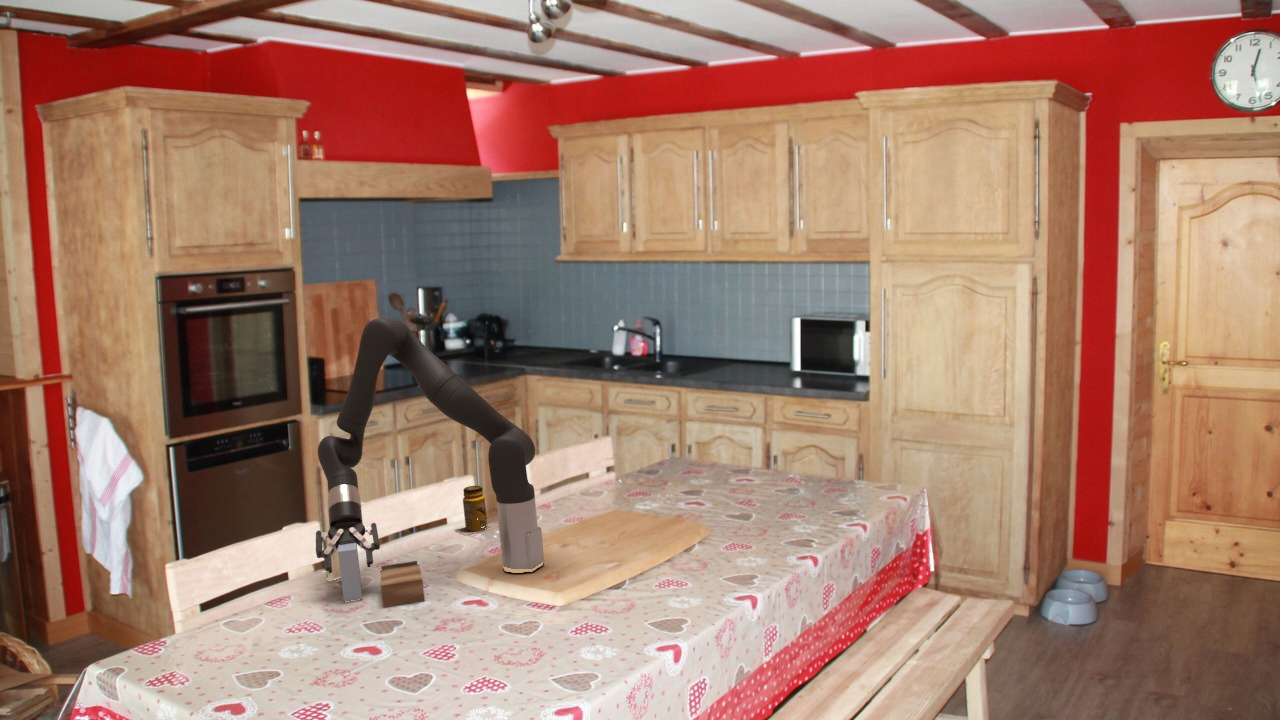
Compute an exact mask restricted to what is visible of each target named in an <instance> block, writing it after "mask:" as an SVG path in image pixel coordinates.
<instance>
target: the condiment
mask: <svg viewBox="0 0 1280 720" xmlns="http://www.w3.org/2000/svg"><path fill="white" fill-rule="evenodd" d="M462 491H463V498H462V504H463V513H464V524H465V527H461V528H456V529H454V531H456V532H458V533H459V534H462V535H463V536H468V535H472V534H475V533H481V532H485V531H490V530H493V529H494V528H492V527H491V528H487V527H489V526H488V518H487V509H486V497H485V495H484V491H483V486H481V485H471V486H470V485H469V486H466V487H464V488H463V490H462ZM477 518H478V520H477ZM486 525H487V526H486ZM483 526H485V527H484V528H481V527H483ZM485 528H486V529H485Z"/></svg>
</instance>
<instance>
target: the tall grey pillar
mask: <svg viewBox="0 0 1280 720" xmlns="http://www.w3.org/2000/svg"><path fill="white" fill-rule="evenodd" d="M337 552H338V553H337V554H338V563H339V570H340V579H341V589H342V597H343V602H344V601H351V600H358V599H362V600H363V587H362V580H361V579H362V578H361V569H360V562H359V561H360V560H359V552H358V545H357V543H356V542H355V543H347V544H342V545H339V547H338V549H337Z"/></svg>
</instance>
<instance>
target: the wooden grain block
mask: <svg viewBox="0 0 1280 720" xmlns="http://www.w3.org/2000/svg"><path fill="white" fill-rule="evenodd" d="M380 567H381V569H380V570H379V574H380V575H379V576H380V588H381V596H382V604H383V605H382V606H383V608H390V607H395V606H401V605H407V604H412V603H419V602H425V592H424V583H423V576H422V571H421V568H420V564H419V563H418V560H413V561H405V562H400V563H399V562H398V563H393V564H386V565H381V566H380Z"/></svg>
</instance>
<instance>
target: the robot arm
mask: <svg viewBox="0 0 1280 720" xmlns="http://www.w3.org/2000/svg"><path fill="white" fill-rule="evenodd" d="M388 356H390V357H392V358H394V359H395V360H396V361H397V362H398V363H400V364H401V365H402V366H403V367H404V368H406V370H408V371H409V372H410V373H411V375H412V376H413V379H415V381H416V383H417V385H418V387H419V389H420V390H421V392H422V393H423V395H424V396H425V398H426V399H427V400H428V401H429V402H430V403H431V404H432V405H433V406H434V407H435V408H437V409H438V410H439V411H440V412H441V413H442V414H443V415H445V416H446V417H447V418H449V419H451V420H453V421H454V422H456V423H458V424H461V425H462V426H465V427H467V428H468V429H471V430H473V431H475V432H476V433H477V434H479V435H480V436H481V437H482V438H484V439H485V440H487V442H488V443H489V444H490V445H489V447H488V454H487V455H488V457H487V458H488V466H489V467H488V468H489V475H490V481H491V488H492V491H493V493H494V494H495V499H496V509H497V519H498V520H497V521H498V531H499V540H500V541H499V542H500V552H501V561H502V567H503V566H504V567H507V568H511V569H533V568H535V567H536V566H538V565H539V564H541V563H542V562H544V563H545V554H544V553H545V552H544V545H543V533H542V527H541V526H538V518H537V516H538V515H537V507H536V497H535V496H536V495H535V487H534V485H533V484H532V483H529V479H528V473H527V465H529V464H531V463H532V461H533V460H534V458H535V456H536V447H535V443H534V441H533V439H532V437H531V436H530V435H528V434H527V433H526V432H525V431H524V430H522V429H521V428H520V427H518V426H517V425H516V424H514V423H513V422H511V421H510V420H509V419H507V418H506V417H505V416H504V415H502V414H501V413H500V412H499V411H498V410H496V409H495V408H494V407H493V406H492V405H491V404H490V403H489V402H488V401H487V400H486V399H485V398H484V397H482V396H481V394H479V393H478V392H477V391H476V390H474V388H473V387H472V386H471V385H469V383H468V382H467V381H465V380H464V379H463V378H462V377H461V376H460V375H459V374H458V373H456V372H455V371H454V370H453V369H451V368H450V367H449V366H448V365H447V364H446V363H445V362H443V360H442V359H440V358H439V357H438V356H437V355H435V353H433V352H432V351H430V349H429V348H427V346H426V345H424V343H423V342H422V341H421V340H420V339H419V337H417V335H416V334H415V333H414V332H413V331H412V330H411V329H410V328H409V326H408V325H406V324H405V322H404V321H402V320H401V319H399V318H396V317H393V316H391V317H390V316H387V317H378V318H374V319H371V320H370V321H368V322H367V323H366V324H365V326H364V328H363V329H362V333H361V338H360V341H359V347H358V352H357V356H356V359H355V360H356V361H355V365H354V368H353V372H352V373H353V374H352V377H351V379H350V380H351V382H350V384H349V387H348V389H347V393H346V395H345V398H344V401H343V403H342V405H341V409H340V411H339V414H338V416H337V419H336V426H337V428H339V429H340V430H342V431H343V432H345V433H348V434H349V435H350V436H349V438H346V437H345V438H344V437H339V436H333V435H327V436H325V437H322V439H321V440H320V442H319V444H318V448H317V457H318V460H319V464H320V467H321V468H322V471H323V473H324V476H325V478H326V480H327V492H328V493H327V497H328V498H327V507H328V508H327V509H328V510H327V511H328V523H329V530H328V531H323V532H322V531H321V530H316V532H315V554H316V558H317V559H321V558H323V559H324V568H325V570H326V571H327V572H328V574H331V573H333V564H332V562H333V561H332V556H333V555H334V554H335V553H337V552H338V547H339V545H342V544H347V543H355V542H356V543H357V547H359V548H360V549H363V550H364V551H365V557H366V567H367V568H371V565H373V564H374V559H373V558H374V556H373V553H374V551H377V550H380V549H381V545H380V539H379V533H378V527H377V523H375V522H372V523H371V524H370V525H367V526H364V524H363V516H362V501H361V495H360V492H359V483H358V482H359V481H358V474H357V472H356V470H354V469H353V468H355V467H356V466H357V465H358V464H359V463H360V462H361V460H362V457H363V446H364V436H365V431H366V426H367V424H368V423H369V422H368V421H369V419H370V416H371V414H372V411H373V408H374V405H375V400H376V394H377V393H376V392H377V391H376V390H377V382H378V377H379V374H380V372H381V369H382V366H383V365H384V362H385V361H386V359H387V357H388ZM366 533H368V535H369V536H372V539H373V540H372V541H373V542H371V543H370V542H369V541H368V540H367V539H366V538H365V537H364V536H365V535H366ZM327 538H328V539H329V540H330V541H329V543H328V545H327V547H326V549H323V543H324V542H326V539H327Z"/></svg>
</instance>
